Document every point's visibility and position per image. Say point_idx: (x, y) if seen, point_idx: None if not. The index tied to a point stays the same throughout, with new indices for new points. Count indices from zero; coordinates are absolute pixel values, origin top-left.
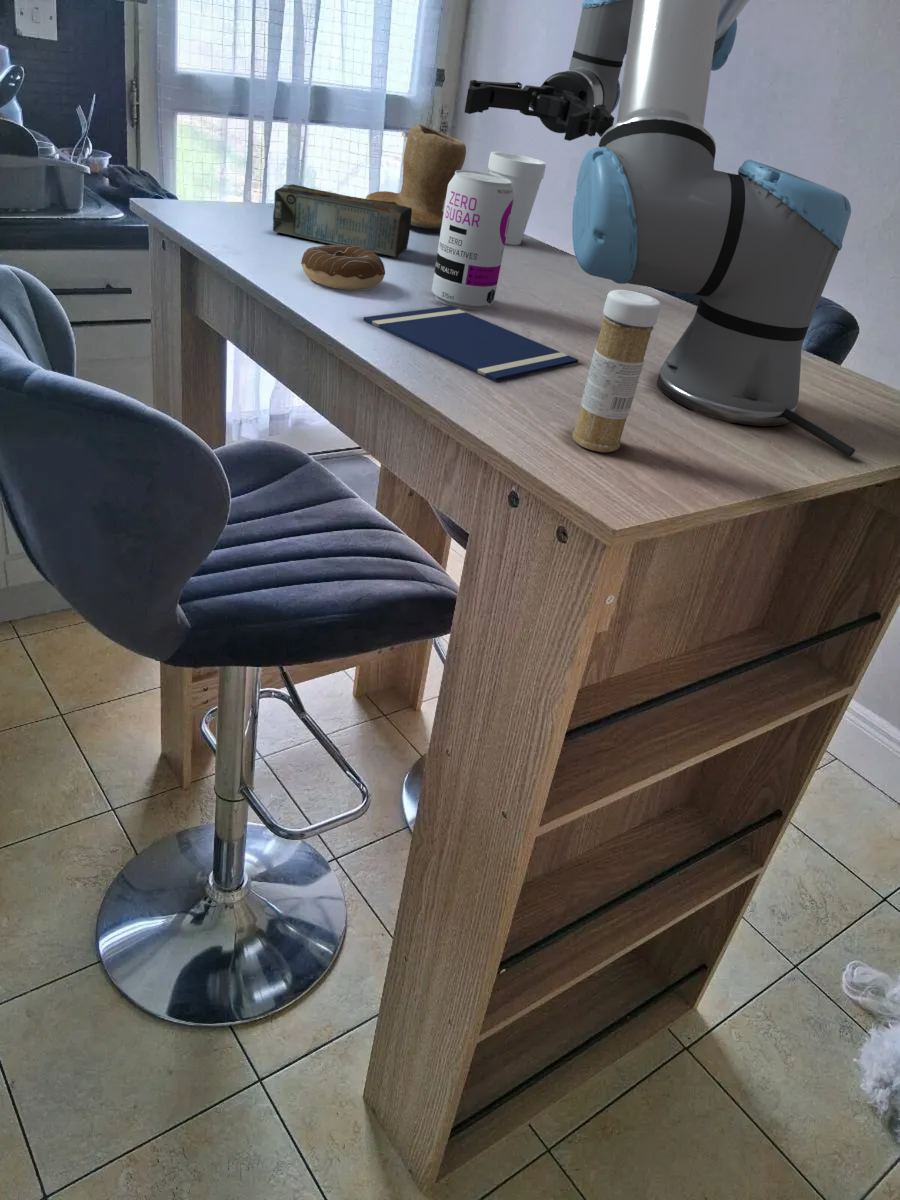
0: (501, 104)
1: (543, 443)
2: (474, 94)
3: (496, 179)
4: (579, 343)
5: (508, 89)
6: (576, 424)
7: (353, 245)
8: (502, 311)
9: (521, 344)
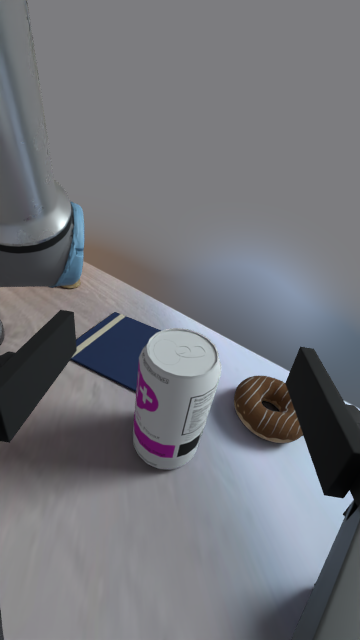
0: (330, 555)
1: (92, 281)
2: (300, 361)
3: (169, 360)
4: (46, 394)
5: (349, 546)
6: (79, 279)
7: (286, 420)
8: (121, 438)
9: (101, 357)
